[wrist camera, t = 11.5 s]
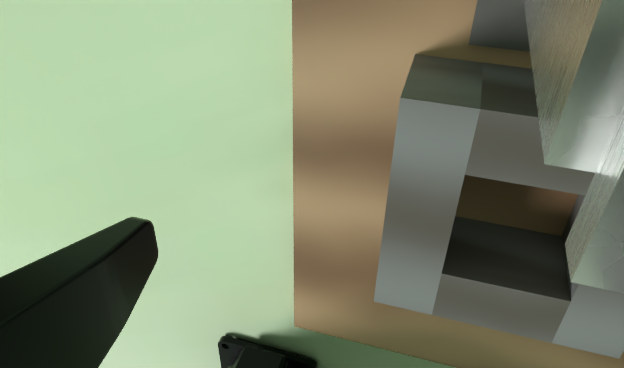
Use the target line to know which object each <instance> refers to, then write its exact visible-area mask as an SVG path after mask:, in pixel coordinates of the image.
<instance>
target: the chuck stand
mask: <svg viewBox="0 0 624 368" xmlns="http://www.w3.org/2000/svg"><path fill="white" fill-rule="evenodd" d="M525 2H526V0H292V41H293V192H294V326H295V327H299V328H303V329H307V330H311V331H315V332H319V333H323V334H326V335H330V336H334V337H338V338H342V339H346V340H350V341H354V342H358V343H362V344H366V345H370V346H374V347H378V348H382V349H386V350H390V351H394V352H398V353H402V354H406V355H410V356H413V357H417V358H421V359H425V360H429V361H433V362H437V363H441V364H445V365H449V366H453V367H457V368H624V293H620V292H615V291H610V290H606V289H601V288H596V287H591V286H587V285H582V284H577V283H573V282H571V281H570V274H569V268H568V261H567V254H566V248H565V242H566V240H567V237H568V235H569V233H570V230H571V228H572V226H573V223H574V221H575V219H576V216H577V214H578V212H579V209H580V207H581V205H582V202H583V200H584V198H585V195H586V193H587V191H588V188H589V186H590V184H591V181H592V179H593V177H594V175H595V173H594V172H588V171H582V170H576V169H570V168H564V167H558V166H552V165H546V164H544V157H543V149H542V141H541V133H540V126H539V118H538V110H537V102H536V94H535V87H534V79H533V71H532V63H531V55H530V47H529V40H528V32H527V24H526V16H525V8H524V6H525Z"/></svg>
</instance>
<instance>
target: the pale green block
mask: <svg viewBox="0 0 624 368" xmlns="http://www.w3.org/2000/svg"><path fill="white" fill-rule="evenodd" d="M524 8H525V16H526V24H527V32H528V40H529V47H530V55H531V63H532V71H533V79H534V87H535V94H536V102H537V110H538V118H539V126H540V133H541V141H542V149H543V157H544V164H546V165H552V166H558V167H564V168H570V169H576V170H582V171H588V172H594V173H595V175H594V177H593V179H592V181H591V184H590V186H589V188H588V191H587V193H586V195H585V198H584V200H583V202H582V205H581V207H580V209H579V212H578V214H577V216H576V219H575V221H574V223H573V226H572V228H571V230H570V233H569V235H568V237H567V240H566V242H565V248H566V254H567V261H568V268H569V274H570V281H571V282H573V283H577V284H582V285H587V286H591V287H596V288H601V289H606V290H610V291H615V292H620V293H624V0H526V2H525V6H524Z"/></svg>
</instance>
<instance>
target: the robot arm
mask: <svg viewBox="0 0 624 368" xmlns="http://www.w3.org/2000/svg"><path fill="white" fill-rule="evenodd" d="M157 258H158V247H157V242H156V236H155V231H154V226H153V224H152V222H151V221H149V220H146V219H141V218H137V217H130V218H127V219H125V220H123V221H120V222H118V223H116V224H114V225H112V226H110V227H108V228H105V229H103V230H101V231H99V232H97V233H95V234H93V235H90V236H88V237H86V238H84V239H82V240H80V241H77V242H75V243H73V244H71V245H69V246H67V247H65V248H62V249H60V250H58V251H56V252H54V253H52V254H50V255H47V256H45V257H43V258H41V259H39V260H37V261H34V262H32V263H30V264H28V265H26V266H24V267H22V268H19V269H17V270H15V271H13V272H11V273H9V274H7V275H4V276H2V277H0V368H98V367H99V366H100V364H101V362H102V361H103V359H104V358H105V356H106V355H107V353H108V351H109V350H110V348H111V347H112V345H113V344H114V342H115V341H116V339H117V337H118V336H119V334H120V332H121V331H122V329H123V327H124V326H125V324H126V322H127V320H128V318H129V316H130V314H131V312H132V310H133V308H134V306H135V304H136V302H137V300H138V298H139V296H140V294H141V292H142V290H143V288H144V286H145V284H146V282H147V280H148V278H149V276H150V274H151V272H152V270H153V268H154V266H155V264H156V262H157ZM218 348H219V354H220V361H221V368H318V363H317V362H316V361H315V360H313V359H310V358H307V357H303V356H299V355H295V354H292V353H288V352H284V351H280V350H276V349H273V348H269V347H265V346H261V345H258V344H254V343H250V342H246V341H243V340H239V339H235V338H231V337H227V336H222V337H221V339H220V341H219V342H218Z"/></svg>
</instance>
